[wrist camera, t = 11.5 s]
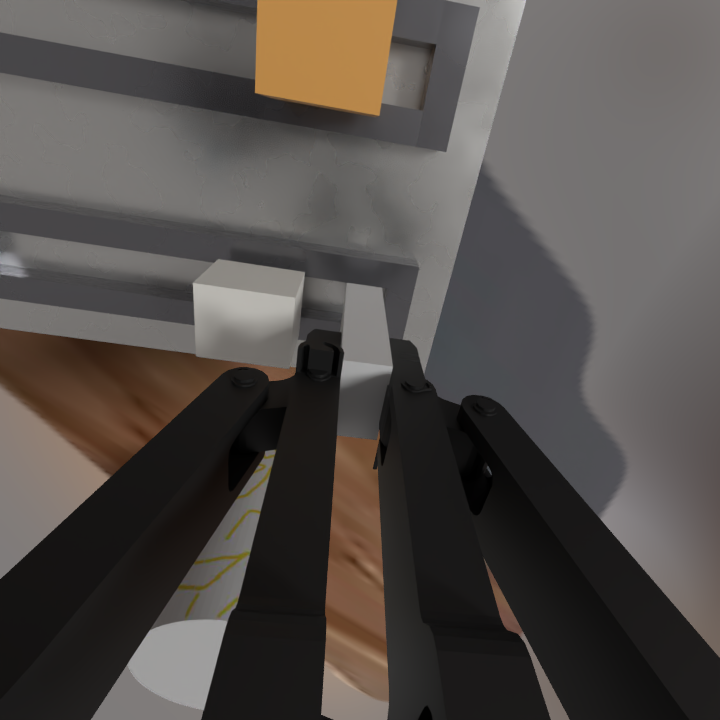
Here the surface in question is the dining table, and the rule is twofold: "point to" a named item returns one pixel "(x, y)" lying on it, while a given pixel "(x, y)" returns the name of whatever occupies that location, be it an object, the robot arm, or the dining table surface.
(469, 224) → the dining table surface
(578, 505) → the robot arm
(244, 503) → the cup
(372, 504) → the dining table surface
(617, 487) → the dining table surface
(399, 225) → the console
